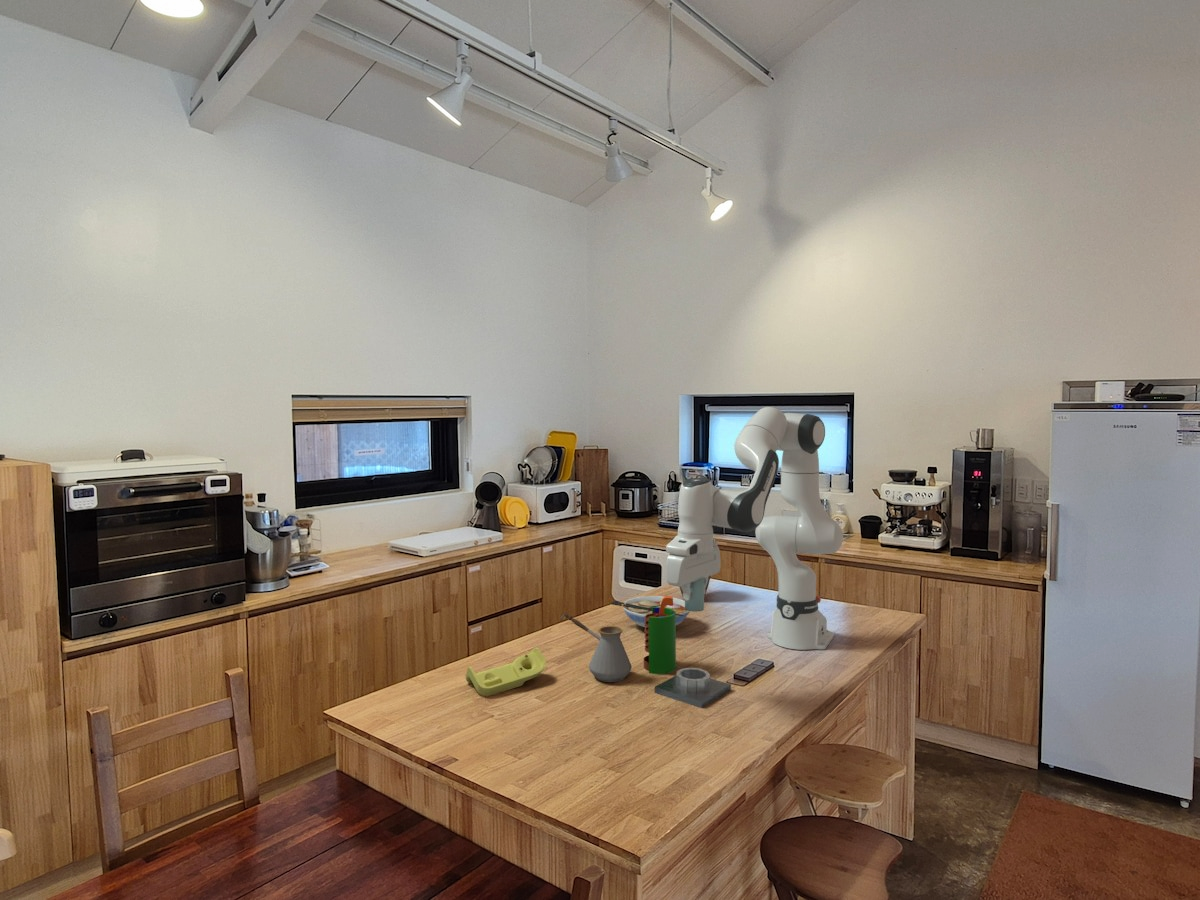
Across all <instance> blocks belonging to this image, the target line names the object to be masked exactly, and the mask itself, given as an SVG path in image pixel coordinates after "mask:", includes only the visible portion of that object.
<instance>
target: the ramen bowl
mask: <svg viewBox="0 0 1200 900" xmlns="http://www.w3.org/2000/svg"><path fill="white" fill-rule="evenodd" d="M665 596H666V595H665ZM665 596H663V595H643V596H637V597H636V596H635V597H632V598H630V599H626V600H625V601H618V600H614V601H611V605H613V606H620V607H622V608H623V611H624V613H625V614H626V616H627V617H628V618H629V620H630V621H631V622H633V623H635V624H637V625H638V626H640V627H644V628H645V615H647V614H651V613H652V607H660V605H661V601H662V599H663V597H665ZM665 608H670V609H673V610H674V611H675V612H676V626H678V625H680V624H682V622H683V621H684V620H685V619H686V618H687V616H688V615H689V613H690V612H691V611H688V610H686V609H685V600H684V599H680V598H678V597H677V598H676V597H673V606H669V605H667V606H665Z"/></svg>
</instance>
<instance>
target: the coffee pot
mask: <svg viewBox="0 0 1200 900" xmlns="http://www.w3.org/2000/svg"><path fill="white" fill-rule="evenodd" d="M565 618H567V619H568V621H571V622H572V623H573V624H574V625H575V626H577V627H578V628H580V629H582V630H584V631H585V632H588V633H589V634H590V635H591V636H593V637H594V638H595V639H596V640H598V643H597V646H596V648H595V651H594V653H593V654H592V658H591V660H590V661H589V665H588V669H589V671H590V673H591V674H592V675H593V676H594V677H595V678H596V679H597V680H598V681H601V682H606V683H616V682H620V681H622V680H624V679H625V678H626V677H627V676H628V675H629V674H630V672H631V670H632V664H631V661H630V658H629V656H628V654H627V651H626V650H625V647H624V644H623V642H622V640H621V634H622V633H623V629H622V628H621V627H619V626H613V625H611V626H608V625H607V626H602V627H600V628H599V629H598V633H599V634H600V635H599V634H597V633H595V632H594V631H592V630H591V629H589V628H588V627H587V626H586V625H584V624H583V623H582V622H580V621H579V620H577V619H575V618H573V616H570V615H569V614H567V613H565V612H564V613H563V615H561V617H560V620H561V621H563V620H565Z"/></svg>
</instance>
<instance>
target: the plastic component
mask: <svg viewBox="0 0 1200 900" xmlns="http://www.w3.org/2000/svg"><path fill="white" fill-rule="evenodd" d="M546 664H547V661H546V657H545V655H543V653H542V651H541V650H540V649H539V647H534V648H533V649H531V650H530V651H529V652H528V653H527V654H526V653H525V654H523V655H521V656H518V657H517V658H515V659H514V661H513V662H510V663H507V664H503V665H500V666H496V667H494V668H493V667H492V668H490V669H486V670H483V671H479V672H477V673H476V672H475V671H474V669H473V667H472V666H468V667H467V670H466V674H465V677H464V678H465V681H466V682H467V683H469V684H473V686H474V689H475V690H476V692H477V693H478V694H479V695H481V696H482V697H490V696H493V695H497V694H500V693H502V692H506V691H509V690H513V689H515V688H518V687H521V686H523V685H524V684H525V682H526V681H529V680H532V679H534V678H536V677H538V676H539V675H540V674H541V673H542V672H543V671H544V670H545V668H546Z"/></svg>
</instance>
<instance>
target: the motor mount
mask: <svg viewBox="0 0 1200 900" xmlns="http://www.w3.org/2000/svg"><path fill="white" fill-rule="evenodd" d="M710 677H711V675H710V673H709V672H708V671H707V670H705V669H702V668H698V667H697V668H696V667H685V668H681V669H679V670H676V674H675V676H673V677H671V678H669V679H667V680H665V681H663V682H661V683H659V684H658V685H655V686H654V694H658V695H661V696H665V697H666V698H671V699H673V700H677V701H679V702H683V703H686V704H689V705H692V706H694V707H698V708H701V709H702V708H704V707H705V706H707V705H709V704H711V703H712V702H714V701H716V700H717V699H719V698H721V697H722V696H724V695H725V694H727V693H729V692H730V691H731V689H732V688H731V687H732V684H731V683H727V682H725V681H720V680H717V679H714V678H710Z"/></svg>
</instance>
